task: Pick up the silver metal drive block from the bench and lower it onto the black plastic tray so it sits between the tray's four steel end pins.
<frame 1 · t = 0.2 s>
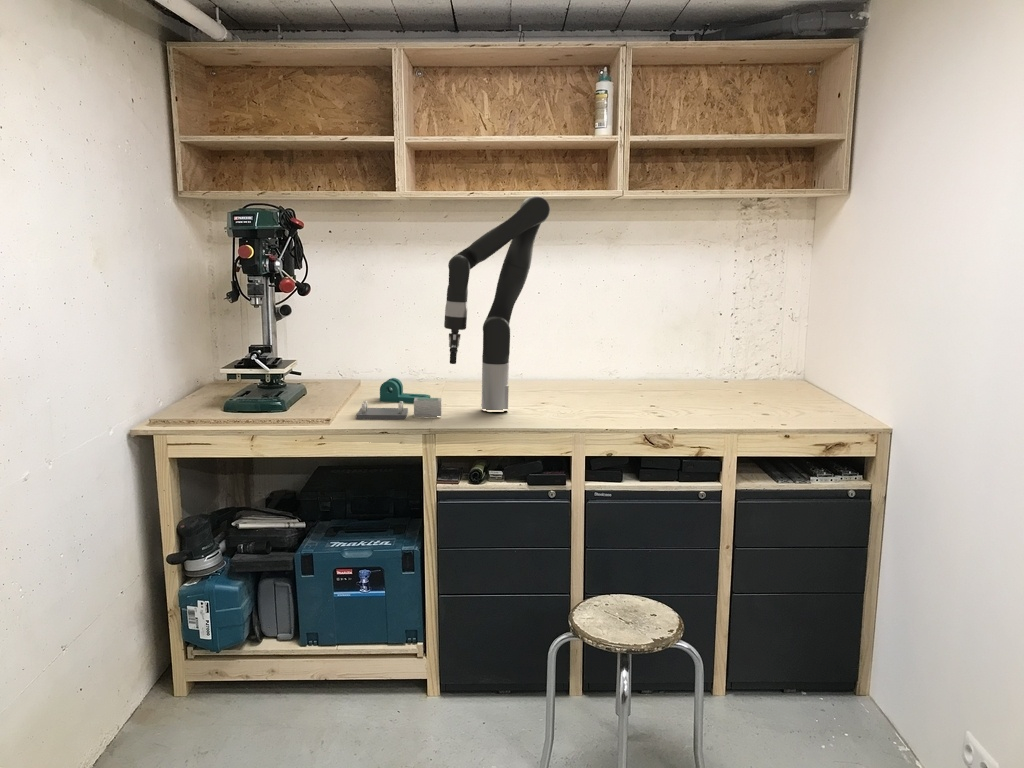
hand: (452, 361, 236), 17 cm above the worktop, tool pointing down, fingers open, 8 cm apart
drive tray: (382, 415, 230), on the worktop
drive: (427, 416, 231), on the worktop
bracket: (406, 401, 253), on the worktop
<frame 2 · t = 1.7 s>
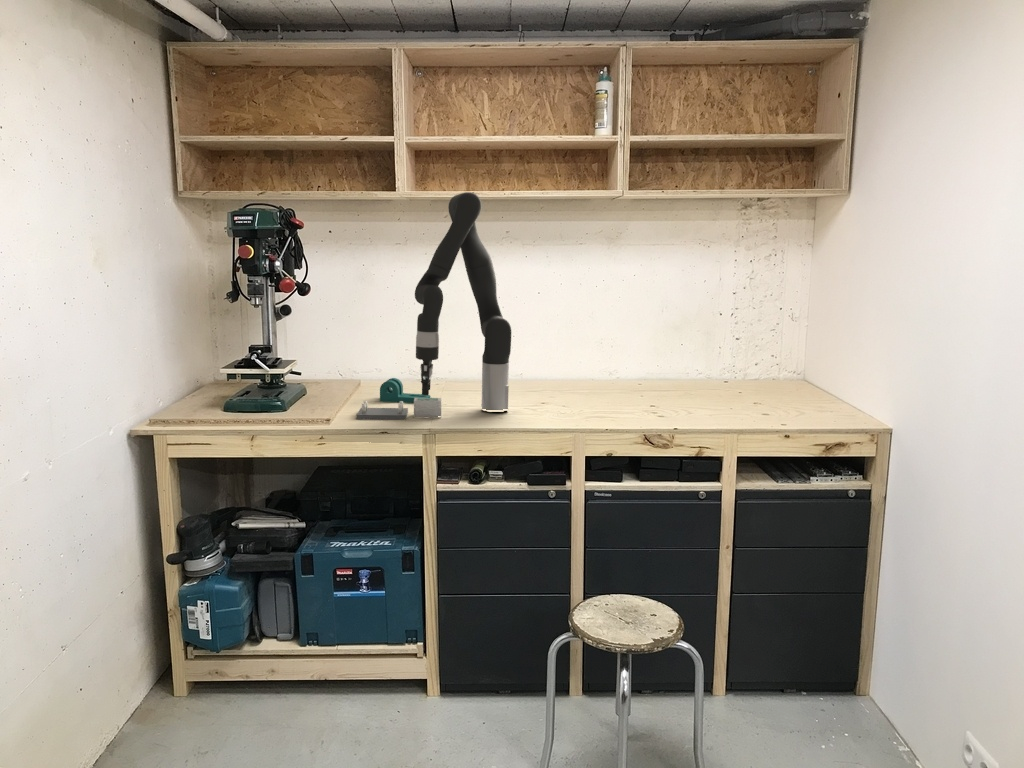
hand: (426, 392, 230), 8 cm above the worktop, tool pointing down, fingers open, 8 cm apart
nothing on the worktop moved.
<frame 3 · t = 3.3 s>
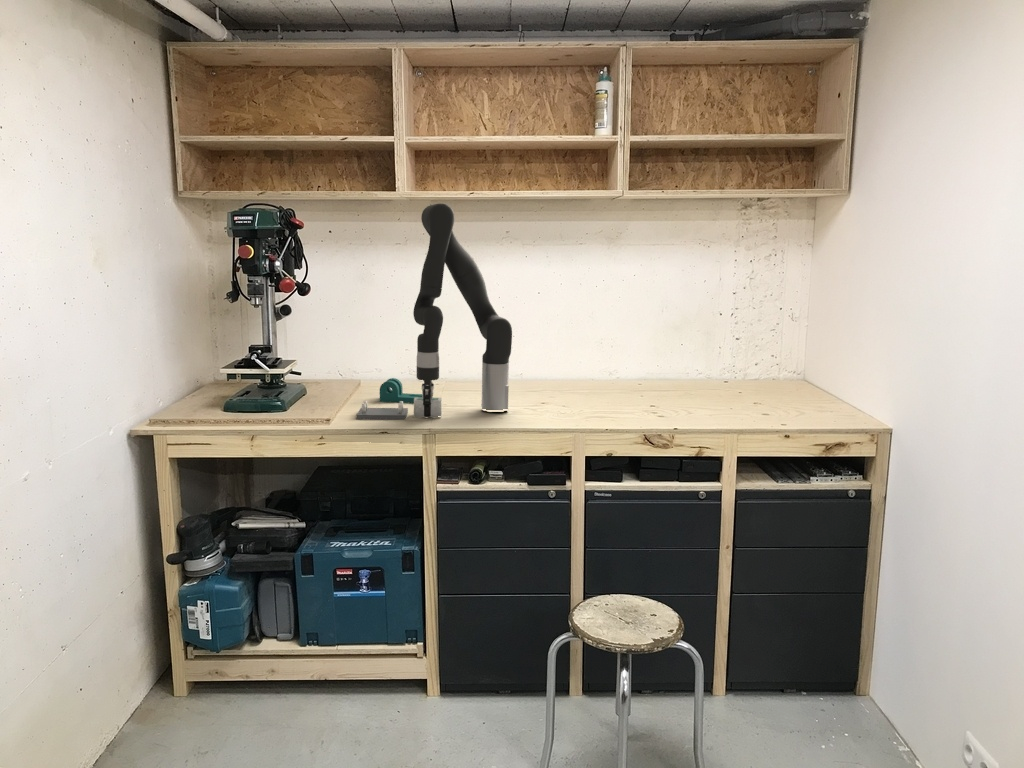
hand: (427, 414, 231), 1 cm above the worktop, tool pointing down, fingers closed on drive, 4 cm apart
drive: (427, 416, 231), on the worktop, touching gripper
everything else where it was.
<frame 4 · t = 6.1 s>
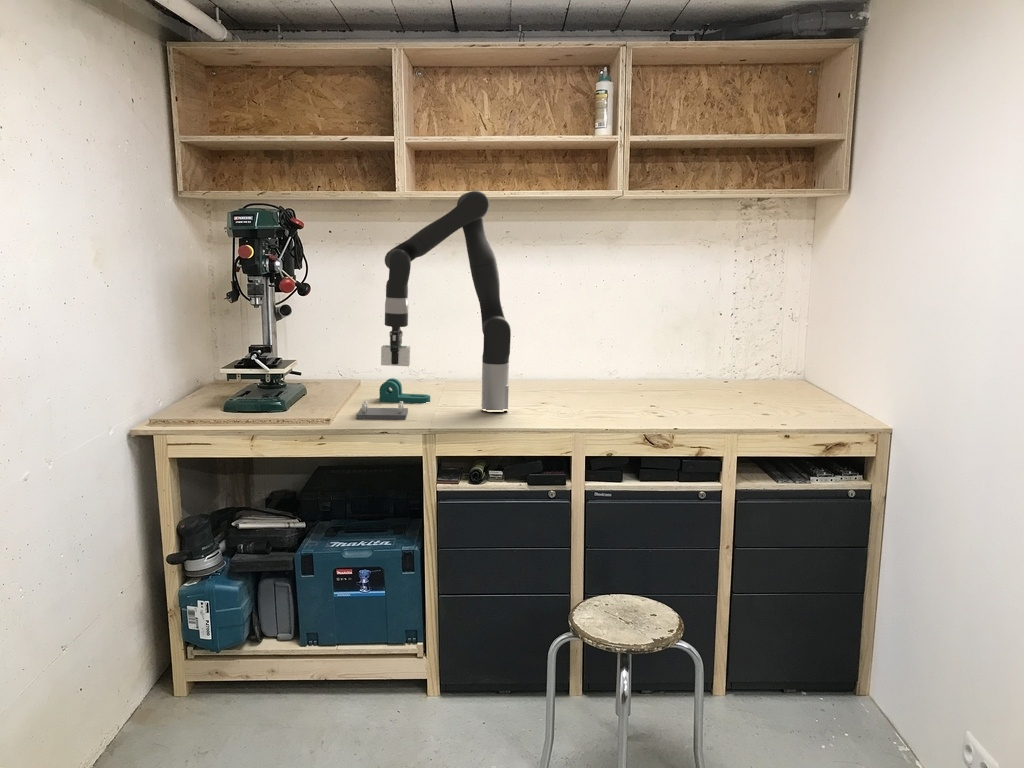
hand: (395, 362, 227), 18 cm above the worktop, tool pointing down, fingers closed on drive, 4 cm apart
drive: (395, 364, 227), point 18 cm above the worktop, touching gripper
everything else where it was.
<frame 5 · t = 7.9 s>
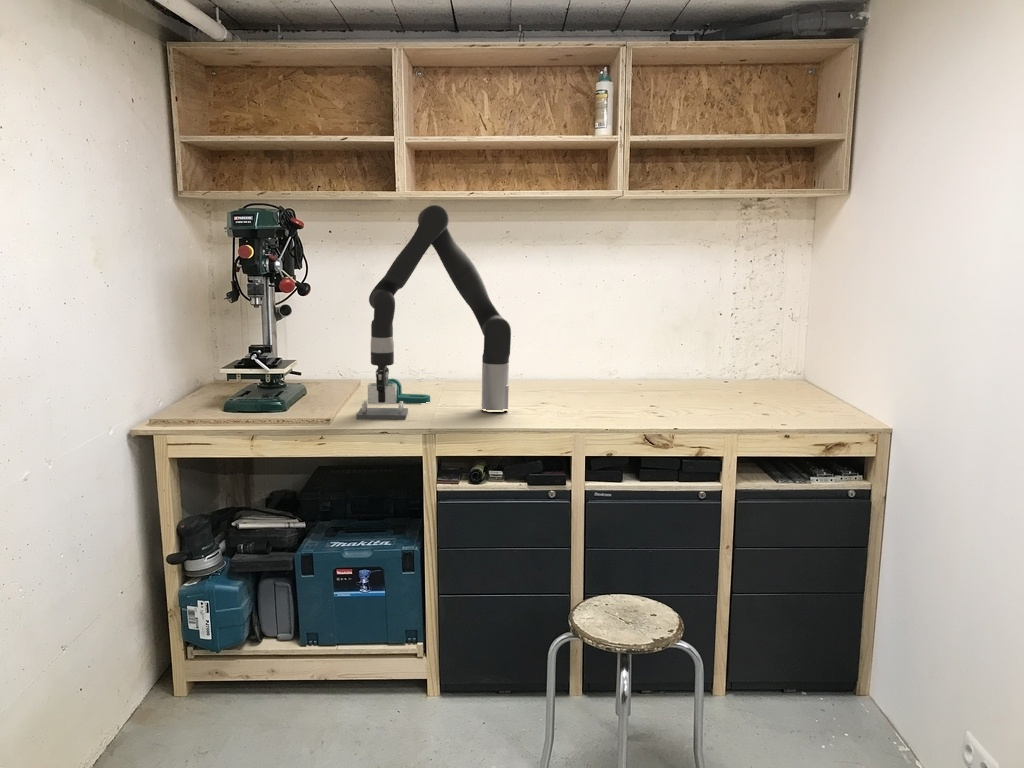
hand: (382, 400, 229), 5 cm above the worktop, tool pointing down, fingers closed on drive, 4 cm apart
drive: (382, 402, 229), point 5 cm above the worktop, touching gripper
everything else where it was.
when the fingers open (3 cm above the worktop, at t = 9.1 s): drive stays where it is, resting on drive tray.
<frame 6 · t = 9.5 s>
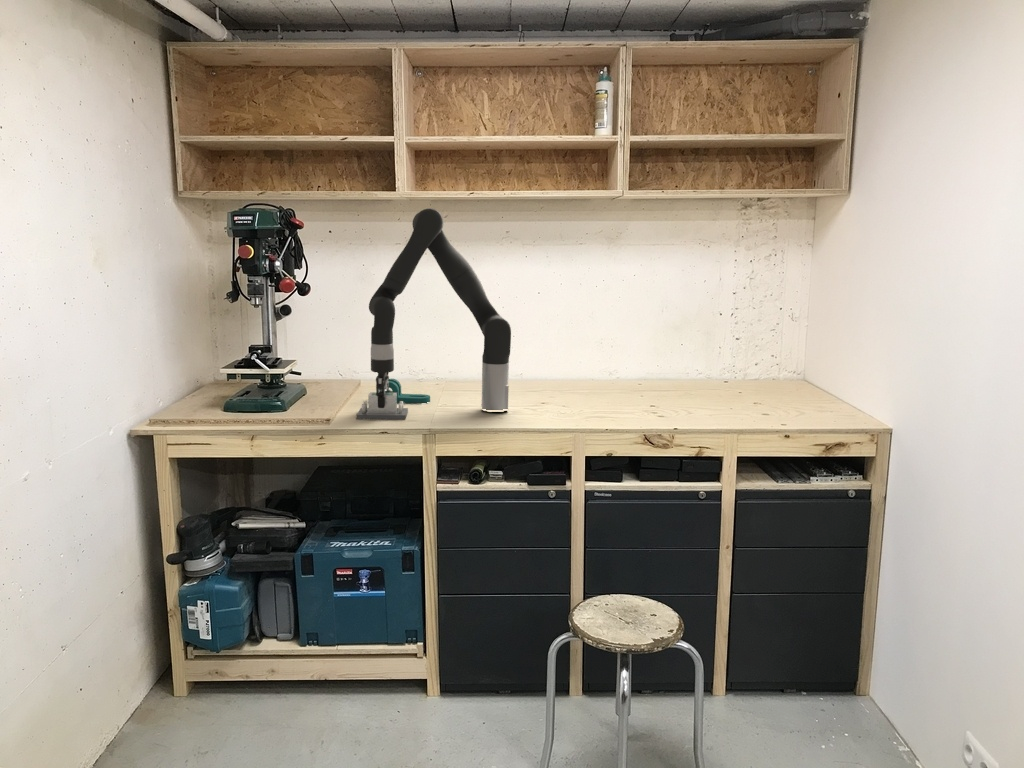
hand: (382, 404, 229), 4 cm above the worktop, tool pointing down, fingers open, 8 cm apart
drive: (382, 411, 230), point 1 cm above the worktop, touching drive tray
everything else where it was.
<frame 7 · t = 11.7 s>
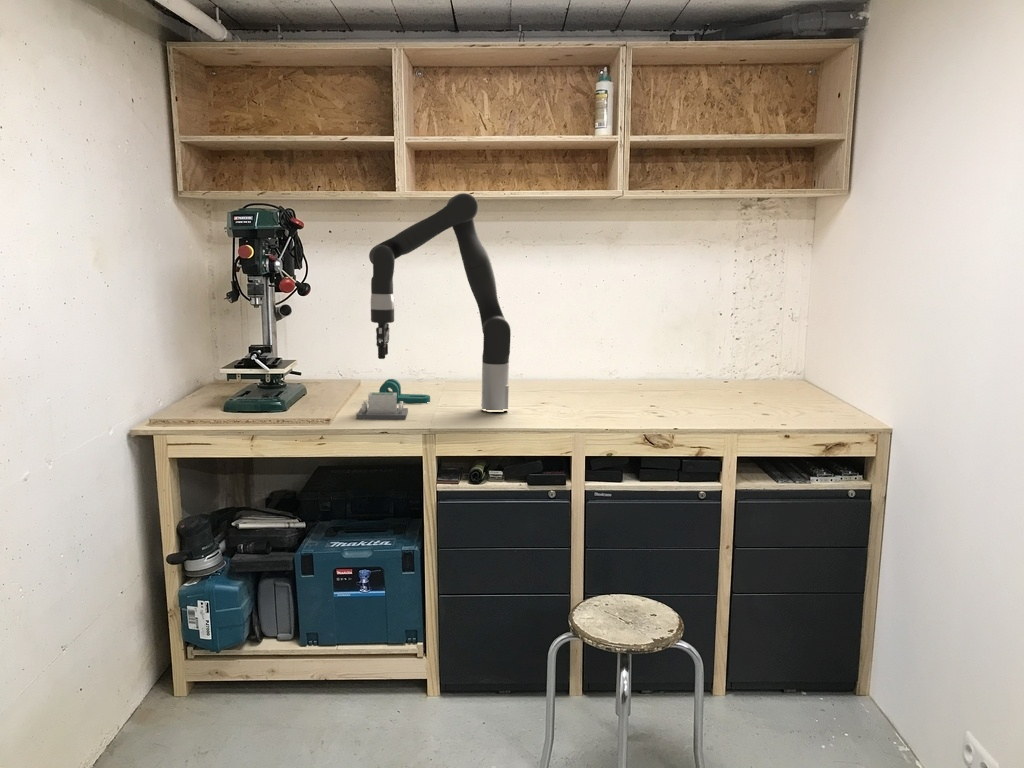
hand: (383, 356, 226), 20 cm above the worktop, tool pointing down, fingers open, 8 cm apart
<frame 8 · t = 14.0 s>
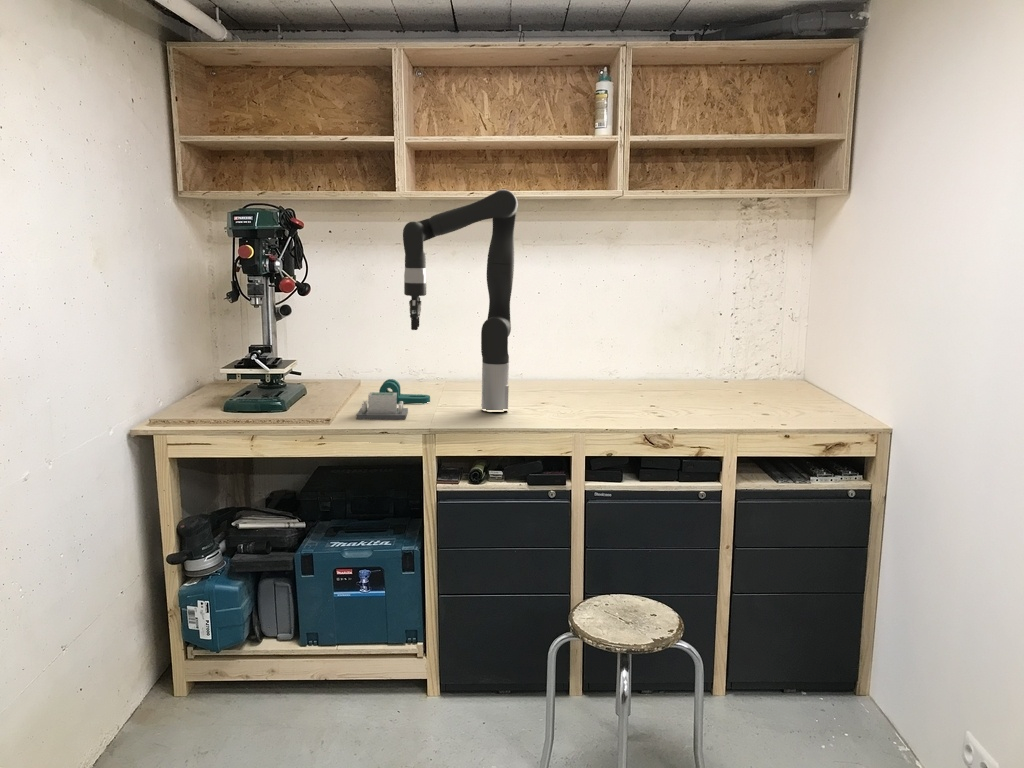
hand: (415, 328, 238), 28 cm above the worktop, tool pointing down, fingers open, 8 cm apart
at the end: drive 0.0 cm off-centre on the drive tray, point 1.5 cm above the drive tray's base; drive tilted 0°; the gripper is holding nothing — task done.
